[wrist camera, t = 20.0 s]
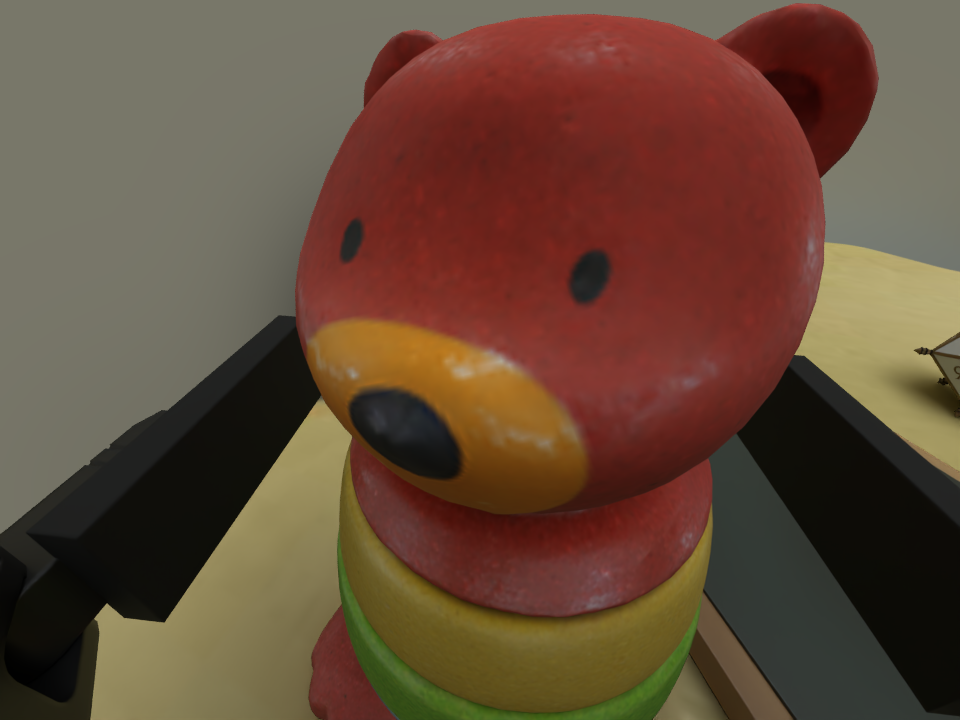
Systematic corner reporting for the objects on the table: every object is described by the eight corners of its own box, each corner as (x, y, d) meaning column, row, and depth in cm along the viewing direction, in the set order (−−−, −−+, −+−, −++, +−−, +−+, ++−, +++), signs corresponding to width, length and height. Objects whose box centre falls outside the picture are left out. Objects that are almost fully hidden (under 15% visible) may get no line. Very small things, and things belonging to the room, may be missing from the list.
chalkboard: (777, 380, 29) (788, 364, 28) (1391, 783, 12) (1465, 775, 11) (547, 418, 24) (550, 400, 24) (1013, 1191, 7) (1092, 1232, 6)
